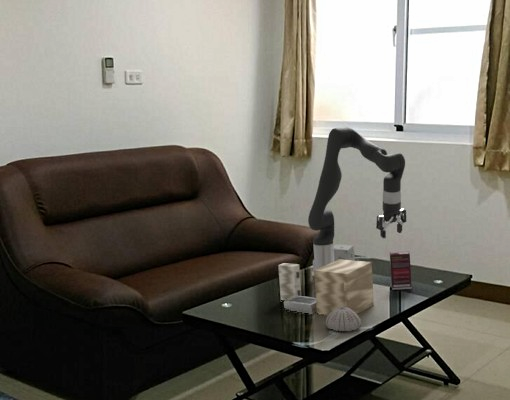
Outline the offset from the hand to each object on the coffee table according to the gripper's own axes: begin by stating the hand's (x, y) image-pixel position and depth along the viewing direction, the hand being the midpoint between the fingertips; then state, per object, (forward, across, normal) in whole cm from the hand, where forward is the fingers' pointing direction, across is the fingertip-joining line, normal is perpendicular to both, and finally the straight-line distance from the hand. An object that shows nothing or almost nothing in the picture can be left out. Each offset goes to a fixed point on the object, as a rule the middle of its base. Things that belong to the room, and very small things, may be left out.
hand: (391, 235), depth 337 cm
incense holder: (+38, -10, -48) cm, 62 cm away
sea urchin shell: (+16, +45, +28) cm, 55 cm away
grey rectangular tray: (+22, +44, -2) cm, 49 cm away
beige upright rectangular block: (+26, +41, -16) cm, 51 cm away
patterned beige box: (+21, +31, +8) cm, 39 cm away
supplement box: (+27, -5, +1) cm, 28 cm away
